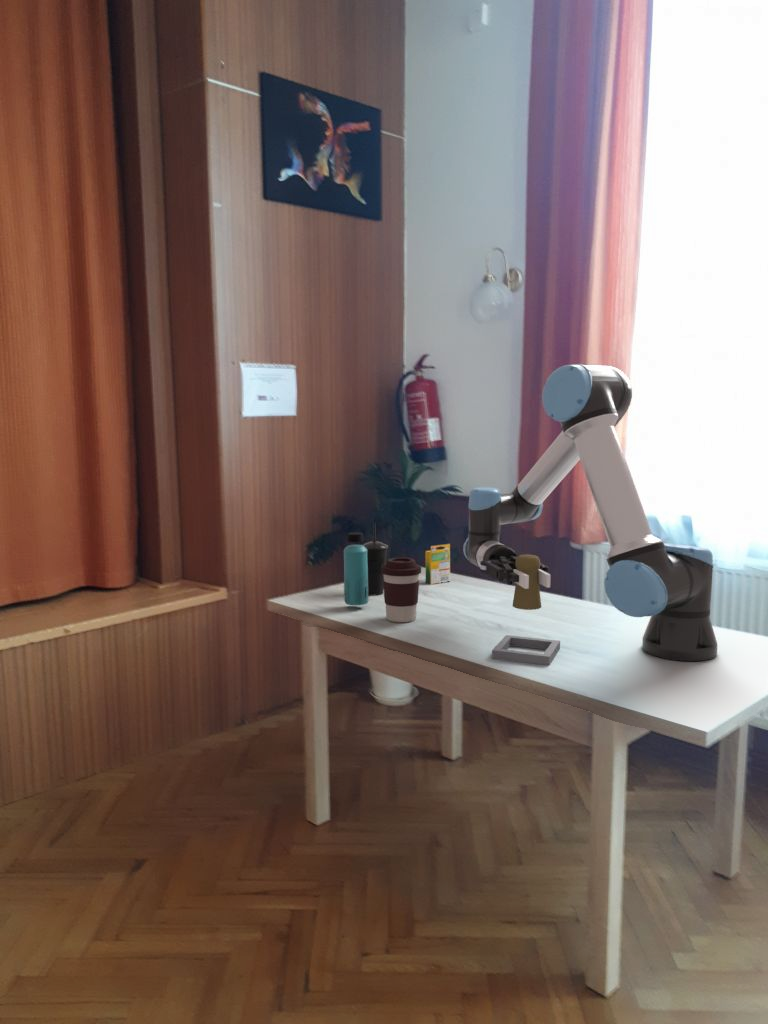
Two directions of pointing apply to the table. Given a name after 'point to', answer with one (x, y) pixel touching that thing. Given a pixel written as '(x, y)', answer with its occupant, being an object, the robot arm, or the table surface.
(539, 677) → the table surface
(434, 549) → the crayon box
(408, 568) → the coffee cup
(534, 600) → the cork
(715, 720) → the table surface
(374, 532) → the drinking cup
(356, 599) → the beverage bottle
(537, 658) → the gray square frame
